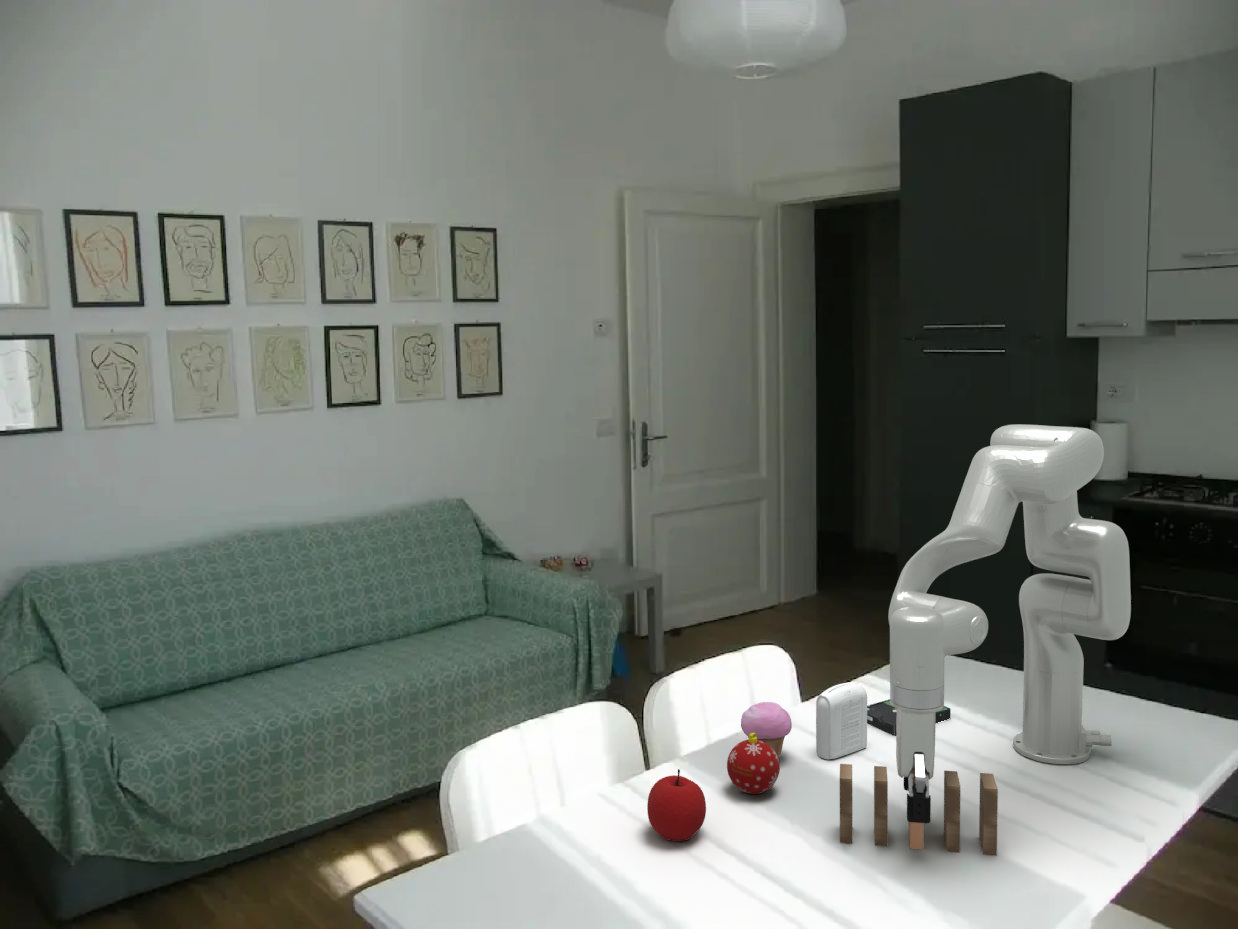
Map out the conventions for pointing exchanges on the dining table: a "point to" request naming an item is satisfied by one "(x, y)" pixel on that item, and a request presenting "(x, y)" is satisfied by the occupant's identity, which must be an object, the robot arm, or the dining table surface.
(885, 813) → the domino
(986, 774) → the domino
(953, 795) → the domino
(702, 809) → the apple
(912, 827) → the domino
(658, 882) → the dining table surface
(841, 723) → the photo printer
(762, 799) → the dining table surface
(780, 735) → the cupcake
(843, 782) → the domino
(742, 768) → the christmas ornament
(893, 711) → the disk drive
